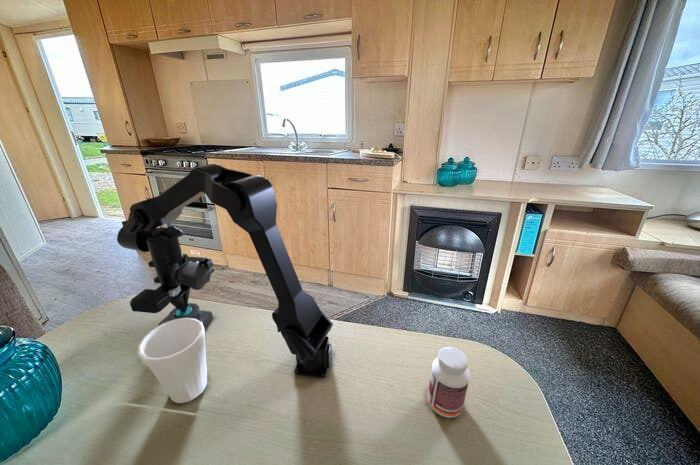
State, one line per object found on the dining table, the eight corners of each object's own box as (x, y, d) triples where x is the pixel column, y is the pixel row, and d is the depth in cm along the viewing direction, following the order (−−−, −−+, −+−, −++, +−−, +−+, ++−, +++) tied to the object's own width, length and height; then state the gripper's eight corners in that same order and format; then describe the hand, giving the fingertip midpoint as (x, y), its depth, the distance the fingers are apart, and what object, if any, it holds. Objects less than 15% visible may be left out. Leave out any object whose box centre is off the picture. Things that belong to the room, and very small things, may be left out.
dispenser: (159, 331, 66) (155, 318, 65) (178, 313, 72) (174, 301, 71) (198, 336, 65) (194, 322, 64) (214, 317, 71) (210, 305, 70)
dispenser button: (173, 321, 66) (171, 315, 66) (183, 311, 70) (182, 305, 69) (187, 322, 66) (185, 316, 65) (196, 312, 69) (195, 306, 69)
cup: (229, 374, 56) (216, 324, 50) (187, 423, 47) (167, 368, 42) (190, 361, 59) (175, 312, 53) (145, 404, 50) (121, 351, 45)
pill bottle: (469, 408, 50) (481, 362, 45) (445, 426, 47) (456, 379, 42) (442, 381, 54) (451, 338, 50) (419, 396, 52) (426, 352, 47)
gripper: (169, 280, 51) (188, 344, 58) (224, 238, 68) (234, 291, 75) (116, 276, 53) (141, 338, 59) (183, 236, 70) (196, 287, 76)
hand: (184, 311), depth 67 cm, fingers closed, pressing on dispenser button
